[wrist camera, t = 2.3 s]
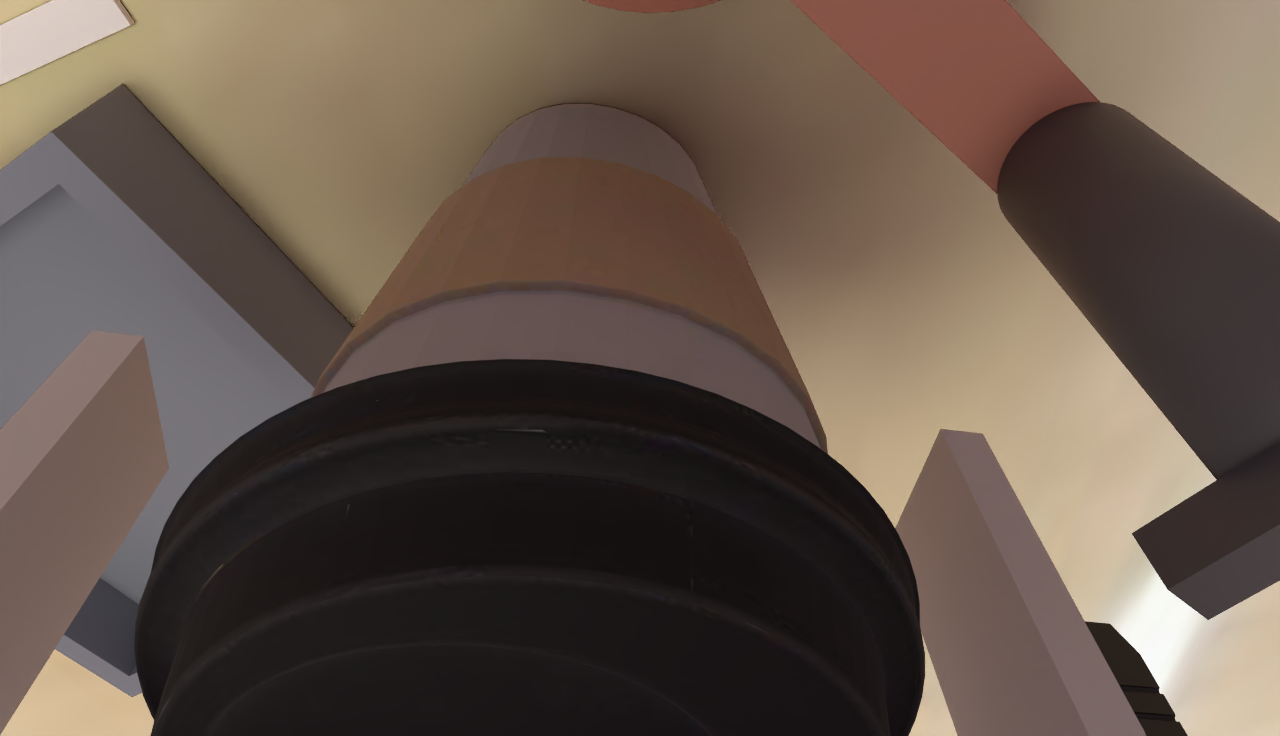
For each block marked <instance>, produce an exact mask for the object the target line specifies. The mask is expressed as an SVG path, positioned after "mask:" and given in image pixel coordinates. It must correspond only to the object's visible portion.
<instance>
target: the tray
mask: <svg viewBox="0 0 1280 736" xmlns="http://www.w3.org/2000/svg"><path fill="white" fill-rule="evenodd" d="M353 329H354V328H353V327H352V326H351V325H350V324H349V323H348V322H347V320H346V319H345V318H344V317H343V316H342V315H341V314H340V313H339V312H338V311H337V310H336V309H335V308H334V307H333V306H332V305H331V304H330V303H329V301H328V300H327V299H326V298H325V297H324V296H323V295H322V294H321V293H320V292H319V291H318V290H317V289H316V288H315V287H314V286H313V285H312V283H311V282H310V281H309V280H308V279H307V278H306V277H305V276H304V275H303V274H302V273H301V272H300V271H299V270H298V269H297V268H296V267H295V265H294V264H293V263H292V262H291V261H290V260H289V259H288V258H287V257H286V256H285V255H284V254H283V253H282V252H281V251H280V250H279V249H278V247H277V246H276V245H275V244H274V243H273V242H272V241H271V240H270V239H269V238H268V237H267V236H266V235H265V234H264V233H263V232H262V231H261V229H260V228H259V227H258V226H257V225H256V224H255V223H254V222H253V221H252V220H251V219H250V218H249V217H248V216H247V215H246V214H245V213H244V211H243V210H242V209H241V208H240V207H239V206H238V205H237V204H236V203H235V202H234V201H233V200H232V199H231V198H230V197H229V196H228V195H227V194H226V192H225V191H224V190H223V189H222V188H221V187H220V186H219V185H218V184H217V183H216V182H215V181H214V180H213V179H212V178H211V177H210V176H209V174H208V173H207V172H206V171H205V170H204V169H203V168H202V167H201V166H200V165H199V164H198V163H197V162H196V161H195V160H194V159H193V158H192V156H191V155H190V154H189V153H188V152H187V151H186V150H185V149H184V148H183V147H182V146H181V145H180V144H179V143H178V142H177V141H176V140H175V138H174V137H173V136H172V135H171V134H170V133H169V132H168V131H167V130H166V129H165V128H164V127H163V126H162V125H161V124H160V123H159V122H158V120H157V119H156V118H155V117H154V116H153V115H152V114H151V113H150V112H149V111H148V110H147V109H146V108H145V107H144V106H143V105H142V104H141V102H140V101H139V100H138V99H137V98H136V97H135V96H134V95H133V94H132V93H131V92H130V91H129V90H128V89H127V88H126V87H125V86H124V85H123V84H122V85H120V86H119V87H117V88H116V89H114V90H113V91H111V92H110V93H108V94H107V95H105V96H104V97H102V98H101V99H99V100H98V101H96V102H95V103H93V104H92V105H90V106H89V107H87V108H86V109H84V110H83V111H81V112H80V113H78V114H77V115H75V116H74V117H72V118H71V119H69V120H68V121H66V122H65V123H63V124H62V125H60V126H59V127H57V128H56V129H54V130H53V131H51V132H50V133H49V134H47V135H46V136H45V137H43V138H42V139H41V140H39V141H38V142H37V143H35V144H34V145H33V146H31V147H30V148H29V149H28V150H26V151H25V152H24V153H22V154H21V155H20V156H18V157H17V158H16V159H14V160H13V161H12V162H10V163H9V164H8V165H6V166H5V167H4V168H2V169H1V170H0V429H1V428H2V427H3V426H4V425H5V424H6V423H7V422H8V421H9V420H10V419H11V417H12V416H13V415H14V414H15V413H16V412H17V411H18V410H19V409H20V408H21V407H22V406H23V405H24V403H25V402H26V401H27V400H28V399H29V398H30V397H31V396H32V395H33V394H34V393H35V392H36V390H37V389H38V388H39V387H40V386H41V385H42V384H43V383H44V382H45V381H46V380H47V379H48V377H49V376H50V375H51V374H52V373H53V372H54V371H55V370H56V369H57V368H58V367H59V366H60V364H61V363H62V362H63V361H64V360H65V359H66V358H67V357H68V356H69V355H70V354H71V353H72V351H73V350H74V349H75V348H76V347H77V346H78V345H79V344H80V343H81V342H82V341H83V340H84V338H85V337H86V336H87V335H88V334H89V333H90V332H91V331H92V330H94V331H102V332H111V333H120V334H128V335H137V336H144V340H145V346H146V351H147V356H148V361H149V366H150V371H151V376H152V382H153V387H154V392H155V397H156V402H157V407H158V412H159V418H160V423H161V428H162V433H163V438H164V443H165V448H166V453H167V459H168V464H169V469H168V471H167V473H166V474H165V476H164V477H163V479H162V480H161V482H160V484H159V485H158V487H157V488H156V490H155V491H154V493H153V495H152V496H151V498H150V499H149V501H148V502H147V504H146V506H145V507H144V509H143V510H142V512H141V513H140V515H139V517H138V518H137V520H136V521H135V523H134V525H133V526H132V528H131V529H130V531H129V532H128V534H127V536H126V537H125V539H124V540H123V542H122V543H121V545H120V547H119V548H118V550H117V551H116V553H115V554H114V556H113V558H112V559H111V561H110V562H109V564H108V566H107V567H106V569H105V570H104V572H103V573H102V575H101V577H100V578H99V580H98V581H97V583H96V584H95V586H94V588H93V589H92V591H91V592H90V594H89V595H88V597H87V599H86V600H85V602H84V603H83V605H82V607H81V608H80V610H79V611H78V613H77V614H76V616H75V618H74V619H73V621H72V622H71V624H70V625H69V627H68V629H67V630H66V632H65V633H64V635H63V636H62V638H61V640H60V641H59V643H58V644H57V646H56V648H55V649H56V650H57V651H59V652H61V653H62V654H64V655H65V656H67V657H69V658H70V659H72V660H73V661H75V662H77V663H78V664H80V665H81V666H83V667H85V668H86V669H88V670H89V671H91V672H93V673H94V674H96V675H97V676H99V677H101V678H102V679H104V680H105V681H107V682H109V683H110V684H112V685H113V686H115V687H117V688H118V689H120V690H121V691H123V692H125V693H126V694H128V695H129V696H131V697H134V696H136V695H138V694H140V693H142V689H141V686H140V682H139V678H138V675H137V667H136V659H135V650H134V642H135V623H136V618H137V613H138V608H139V603H140V600H141V598H142V595H143V592H144V589H145V587H146V584H147V581H148V579H149V576H150V574H151V569H152V564H153V559H154V555H155V550H156V546H157V544H158V541H159V538H160V536H161V533H162V530H163V527H164V525H165V523H166V521H167V519H168V517H169V516H170V514H171V512H172V510H173V508H174V507H175V505H176V503H177V501H178V500H179V499H180V497H181V496H182V495H183V493H184V492H185V490H186V489H187V488H188V486H189V485H190V484H191V482H192V481H193V480H194V478H195V477H196V476H197V475H198V474H199V473H200V472H201V471H202V470H203V469H204V468H205V467H206V466H207V465H208V464H209V463H210V462H211V461H212V460H213V459H214V458H215V457H216V456H217V455H219V454H220V453H221V452H222V451H223V450H225V449H226V448H227V447H228V446H229V445H231V444H232V443H233V442H234V441H236V440H237V439H238V438H239V437H241V436H242V435H244V434H245V433H247V432H248V431H250V430H251V429H253V428H255V427H256V426H258V425H259V424H261V423H262V422H264V421H265V420H267V419H269V418H270V417H272V416H274V415H276V414H278V413H280V412H282V411H284V410H286V409H288V408H290V407H292V406H294V405H296V404H298V403H300V402H302V401H304V400H307V399H309V398H311V396H312V394H313V391H314V389H315V387H316V385H317V382H318V380H319V378H320V376H321V375H322V373H323V372H324V370H325V369H326V367H327V366H328V365H329V363H330V362H331V360H332V359H333V357H334V356H335V355H336V353H337V352H338V350H339V349H340V347H341V346H342V344H343V343H344V342H345V340H346V339H347V337H348V336H349V334H350V333H351V332H352V330H353Z"/></svg>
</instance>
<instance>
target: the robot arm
mask: <svg viewBox="0 0 1280 736" xmlns="http://www.w3.org/2000/svg"><path fill="white" fill-rule="evenodd" d="M168 469H169V464H168V459H167V453H166V448H165V443H164V438H163V433H162V428H161V423H160V418H159V412H158V407H157V402H156V397H155V392H154V387H153V382H152V376H151V371H150V366H149V361H148V356H147V351H146V346H145V340H144V336H137V335H128V334H120V333H111V332H102V331H94V330H92V331H91V332H90V333H89V334H88V335H87V336H86V337H85V338H84V340H83V341H82V342H81V343H80V344H79V345H78V346H77V347H76V348H75V349H74V350H73V351H72V353H71V354H70V355H69V356H68V357H67V358H66V359H65V360H64V361H63V362H62V363H61V364H60V366H59V367H58V368H57V369H56V370H55V371H54V372H53V373H52V374H51V375H50V376H49V377H48V379H47V380H46V381H45V382H44V383H43V384H42V385H41V386H40V387H39V388H38V389H37V390H36V392H35V393H34V394H33V395H32V396H31V397H30V398H29V399H28V400H27V401H26V402H25V403H24V405H23V406H22V407H21V408H20V409H19V410H18V411H17V412H16V413H15V414H14V415H13V416H12V417H11V419H10V420H9V421H8V422H7V423H6V424H5V425H4V426H3V427H2V428H1V429H0V734H1V733H2V731H3V730H4V728H5V726H6V725H7V723H8V722H9V720H10V718H11V717H12V715H13V714H14V712H15V711H16V709H17V707H18V706H19V704H20V703H21V701H22V700H23V698H24V696H25V695H26V693H27V692H28V690H29V689H30V687H31V685H32V684H33V682H34V681H35V679H36V677H37V676H38V674H39V673H40V671H41V670H42V668H43V666H44V665H45V663H46V662H47V660H48V659H49V657H50V655H51V654H52V652H53V651H54V649H55V648H56V646H57V644H58V643H59V641H60V640H61V638H62V636H63V635H64V633H65V632H66V630H67V629H68V627H69V625H70V624H71V622H72V621H73V619H74V618H75V616H76V614H77V613H78V611H79V610H80V608H81V607H82V605H83V603H84V602H85V600H86V599H87V597H88V595H89V594H90V592H91V591H92V589H93V588H94V586H95V584H96V583H97V581H98V580H99V578H100V577H101V575H102V573H103V572H104V570H105V569H106V567H107V566H108V564H109V562H110V561H111V559H112V558H113V556H114V554H115V553H116V551H117V550H118V548H119V547H120V545H121V543H122V542H123V540H124V539H125V537H126V536H127V534H128V532H129V531H130V529H131V528H132V526H133V525H134V523H135V521H136V520H137V518H138V517H139V515H140V513H141V512H142V510H143V509H144V507H145V506H146V504H147V502H148V501H149V499H150V498H151V496H152V495H153V493H154V491H155V490H156V488H157V487H158V485H159V484H160V482H161V480H162V479H163V477H164V476H165V474H166V473H167V471H168ZM895 529H896V531H897V533H898V534H899V536H900V539H901V541H902V543H903V545H904V547H905V549H906V551H907V553H908V556H909V558H910V561H911V565H912V568H913V571H914V574H915V578H916V582H917V588H918V595H919V601H920V629H921V632H922V635H923V637H924V640H925V643H926V646H927V649H928V652H929V655H930V657H931V660H932V663H933V666H934V669H935V672H936V675H937V678H938V680H939V683H940V686H941V689H942V692H943V695H944V698H945V700H946V703H947V706H948V709H949V712H950V715H951V718H952V720H953V723H954V726H955V729H956V732H957V735H958V736H1187V734H1186V732H1185V730H1184V729H1183V727H1182V725H1181V724H1180V722H1176V721H1175V713H1174V712H1173V710H1172V708H1171V707H1170V705H1169V703H1168V701H1167V700H1166V698H1165V696H1164V695H1163V694H1160V693H1159V686H1158V684H1157V683H1156V681H1155V679H1154V677H1153V676H1152V674H1151V672H1150V671H1149V669H1148V667H1147V666H1146V664H1145V662H1144V660H1143V659H1142V657H1141V655H1140V654H1139V653H1138V652H1137V651H1136V650H1135V649H1134V648H1133V647H1132V646H1131V645H1130V644H1129V643H1128V642H1127V641H1126V640H1125V639H1124V638H1123V637H1122V636H1121V635H1120V634H1119V633H1118V632H1117V631H1116V630H1115V629H1114V628H1113V627H1112V625H1111V624H1106V623H1095V622H1085V621H1084V620H1083V618H1082V616H1081V614H1080V612H1079V610H1078V608H1077V607H1076V605H1075V603H1074V601H1073V599H1072V597H1071V596H1070V594H1069V592H1068V590H1067V588H1066V586H1065V585H1064V583H1063V581H1062V579H1061V577H1060V575H1059V573H1058V572H1057V570H1056V568H1055V566H1054V564H1053V562H1052V561H1051V559H1050V557H1049V555H1048V553H1047V551H1046V550H1045V548H1044V546H1043V544H1042V542H1041V540H1040V538H1039V537H1038V535H1037V533H1036V531H1035V529H1034V527H1033V526H1032V524H1031V522H1030V520H1029V518H1028V516H1027V515H1026V513H1025V511H1024V509H1023V507H1022V505H1021V503H1020V502H1019V500H1018V498H1017V496H1016V494H1015V492H1014V491H1013V489H1012V487H1011V485H1010V483H1009V481H1008V480H1007V478H1006V476H1005V474H1004V472H1003V470H1002V469H1001V467H1000V465H999V463H998V461H997V459H996V457H995V456H994V454H993V452H992V450H991V448H990V446H989V445H988V443H987V441H986V439H985V437H984V435H983V434H980V433H972V432H963V431H954V430H946V429H940V432H939V434H938V436H937V438H936V440H935V443H934V445H933V447H932V449H931V451H930V454H929V456H928V458H927V460H926V462H925V465H924V467H923V469H922V471H921V473H920V475H919V478H918V480H917V482H916V484H915V486H914V489H913V491H912V493H911V495H910V497H909V500H908V502H907V504H906V506H905V508H904V511H903V513H902V515H901V517H900V519H899V522H898V524H897V526H896V528H895Z"/></svg>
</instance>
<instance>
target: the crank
mask: <svg viewBox="0 0 1280 736" xmlns="http://www.w3.org/2000/svg"><path fill="white" fill-rule="evenodd" d="M583 1H586V2H589V3H591V4H595V5H599V6H604V7H608V8H612V9H616V10H623V11H633V12H644V13H652V12H674V11H680V10H685V9H691V8H696V7H702V6H705V5H708V4H711V3H714V2H717V1H720V0H583ZM791 1H792V2H793V3H794V4H795V5H796V6H797V7H798V8H799V9H800V10H801V11H802V12H803V13H804V14H806V15H807V16H808V17H809V18H810V19H811V20H812V21H813V22H814V23H815V24H816V25H817V26H818V27H819V28H820V29H822V30H823V31H824V32H825V33H826V34H827V35H828V36H829V37H830V38H831V39H832V40H833V41H834V42H835V43H836V44H838V45H839V46H840V47H841V48H842V49H843V50H844V51H845V52H846V53H847V54H848V55H849V56H850V57H851V58H852V59H854V60H855V61H856V62H857V63H858V64H859V65H860V66H861V67H862V68H863V69H864V70H865V71H866V72H867V73H868V74H870V75H871V76H872V77H873V78H874V79H875V80H876V81H877V82H878V83H879V84H880V85H881V86H882V87H883V88H884V89H886V90H887V91H888V92H889V93H890V94H891V95H892V96H893V97H894V98H895V99H896V100H897V101H898V102H899V103H901V104H902V105H903V106H904V107H905V108H906V109H907V110H908V111H909V112H910V113H911V114H912V115H913V116H914V117H915V118H917V119H918V120H919V121H920V122H921V123H922V124H923V125H924V126H925V127H926V128H927V129H928V130H929V131H930V132H931V133H933V134H934V135H935V136H936V137H937V138H938V139H939V140H940V141H941V142H942V143H943V144H944V145H945V146H946V147H947V148H949V149H950V150H951V151H952V152H953V153H954V154H955V155H956V156H957V157H958V158H959V159H960V160H961V161H962V162H963V163H965V164H966V165H967V166H968V167H969V168H970V169H971V170H972V171H973V172H974V173H975V174H976V175H977V176H978V177H980V178H981V179H982V180H983V181H984V182H985V183H986V184H987V185H988V186H989V187H990V188H991V189H992V190H993V191H994V192H996V193H997V194H998V201H999V205H1000V208H1001V210H1002V213H1003V214H1004V216H1005V218H1006V219H1007V220H1008V222H1009V223H1010V224H1011V225H1012V227H1013V228H1014V229H1015V230H1016V232H1017V233H1018V234H1019V235H1020V237H1021V238H1022V239H1023V240H1024V241H1025V243H1026V244H1027V245H1028V246H1029V248H1030V249H1031V250H1032V251H1033V253H1034V254H1035V255H1036V256H1037V258H1038V259H1039V260H1040V261H1041V263H1042V264H1043V265H1044V266H1045V268H1046V269H1047V270H1048V271H1049V272H1050V274H1051V275H1052V276H1053V277H1054V279H1055V280H1056V281H1057V282H1058V284H1059V285H1060V286H1061V287H1062V289H1063V290H1064V291H1065V292H1066V294H1067V295H1068V296H1069V297H1070V299H1071V300H1072V301H1073V302H1074V303H1075V305H1076V306H1077V307H1078V308H1079V310H1080V311H1081V312H1082V313H1083V315H1084V316H1085V317H1086V318H1087V320H1088V321H1089V322H1090V323H1091V325H1092V326H1093V327H1094V328H1095V330H1096V331H1097V332H1098V333H1099V334H1100V336H1101V337H1102V338H1103V339H1104V341H1105V342H1106V343H1107V344H1108V346H1109V347H1110V348H1111V349H1112V351H1113V352H1114V353H1115V354H1116V356H1117V357H1118V358H1119V359H1120V360H1121V362H1122V363H1123V364H1124V365H1125V367H1126V368H1127V369H1128V370H1129V372H1130V373H1131V374H1132V375H1133V377H1134V378H1135V379H1136V380H1137V382H1138V383H1139V384H1140V385H1141V387H1142V388H1143V389H1144V390H1145V391H1146V393H1147V394H1148V395H1149V396H1150V398H1151V399H1152V400H1153V401H1154V403H1155V404H1156V405H1157V406H1158V408H1159V409H1160V410H1161V411H1162V413H1163V414H1164V415H1165V416H1166V418H1167V419H1168V420H1169V421H1170V422H1171V424H1172V425H1173V426H1174V427H1175V429H1176V430H1177V431H1178V432H1179V434H1180V435H1181V436H1182V437H1183V439H1184V440H1185V441H1186V442H1187V444H1188V445H1189V446H1190V447H1191V449H1192V450H1193V451H1194V452H1195V453H1196V455H1197V456H1198V457H1199V458H1200V460H1201V461H1202V462H1203V463H1204V465H1205V466H1206V467H1207V468H1208V470H1209V471H1210V472H1211V473H1212V475H1213V476H1214V477H1215V478H1216V479H1217V480H1216V481H1215V482H1213V483H1212V484H1210V485H1209V486H1207V487H1205V488H1204V489H1202V490H1201V491H1199V492H1197V493H1196V494H1194V495H1193V496H1191V497H1189V498H1188V499H1186V500H1185V501H1183V502H1181V503H1180V504H1178V505H1177V506H1175V507H1173V508H1172V509H1170V510H1169V511H1167V512H1165V513H1164V514H1162V515H1161V516H1159V517H1157V518H1156V519H1154V520H1153V521H1151V522H1149V523H1148V524H1146V525H1145V526H1143V527H1141V528H1140V529H1138V530H1137V531H1135V532H1133V533H1132V535H1133V536H1134V538H1135V539H1136V541H1137V542H1138V544H1139V545H1140V547H1141V549H1142V550H1143V552H1144V553H1145V555H1146V556H1147V558H1148V559H1149V561H1150V563H1151V564H1152V566H1153V567H1154V569H1155V570H1156V572H1157V573H1158V575H1159V577H1160V578H1161V580H1162V581H1163V583H1164V584H1165V586H1166V587H1167V589H1168V590H1169V591H1170V592H1172V593H1173V594H1174V595H1176V596H1177V597H1178V598H1180V599H1181V600H1182V601H1184V602H1185V603H1186V604H1188V605H1189V606H1190V607H1192V608H1193V609H1194V610H1196V611H1197V612H1198V613H1200V614H1201V615H1202V616H1204V617H1205V618H1206V619H1208V620H1209V619H1211V618H1213V617H1214V616H1216V615H1218V614H1220V613H1222V612H1223V611H1225V610H1227V609H1229V608H1231V607H1233V606H1234V605H1236V604H1238V603H1240V602H1242V601H1243V600H1245V599H1247V598H1249V597H1251V596H1252V595H1254V594H1256V593H1258V592H1260V591H1261V590H1263V589H1265V588H1267V587H1269V586H1271V585H1272V584H1274V583H1276V582H1278V581H1280V222H1279V221H1277V220H1276V219H1274V218H1273V217H1272V216H1270V215H1269V214H1268V213H1266V212H1265V211H1263V210H1262V209H1261V208H1259V207H1258V206H1257V205H1255V204H1254V203H1252V202H1251V201H1250V200H1248V199H1247V198H1246V197H1244V196H1243V195H1241V194H1240V193H1239V192H1237V191H1236V190H1234V189H1233V188H1232V187H1230V186H1229V185H1228V184H1226V183H1225V182H1223V181H1222V180H1221V179H1219V178H1218V177H1217V176H1215V175H1214V174H1212V173H1211V172H1210V171H1208V170H1207V169H1206V168H1204V167H1203V166H1201V165H1200V164H1199V163H1197V162H1196V161H1195V160H1193V159H1192V158H1190V157H1189V156H1188V155H1186V154H1185V153H1184V152H1182V151H1181V150H1179V149H1178V148H1177V147H1175V146H1174V145H1173V144H1171V143H1170V142H1168V141H1167V140H1166V139H1164V138H1163V137H1161V136H1160V135H1159V134H1157V133H1156V132H1155V131H1153V130H1152V129H1150V128H1149V127H1148V126H1146V125H1145V124H1144V123H1142V122H1141V121H1139V120H1138V119H1137V118H1135V117H1134V116H1133V115H1131V114H1130V113H1128V112H1127V111H1125V110H1124V109H1122V108H1120V107H1117V106H1115V105H1111V104H1107V103H1100V101H1099V100H1098V99H1097V98H1096V97H1095V96H1094V95H1093V94H1092V93H1091V92H1090V91H1089V90H1088V89H1087V87H1086V86H1085V85H1084V84H1083V83H1082V82H1081V81H1080V80H1079V79H1078V78H1077V77H1076V76H1075V75H1074V73H1073V72H1072V71H1071V70H1070V69H1069V68H1068V67H1067V66H1066V65H1065V64H1064V63H1063V62H1062V61H1061V59H1060V58H1059V57H1058V56H1057V55H1056V54H1055V53H1054V52H1053V51H1052V50H1051V49H1050V48H1049V47H1048V45H1047V44H1046V43H1045V42H1044V41H1043V40H1042V39H1041V38H1040V37H1039V36H1038V35H1037V34H1036V33H1035V31H1034V30H1033V29H1032V28H1031V27H1030V26H1029V25H1028V24H1027V23H1026V22H1025V21H1024V20H1023V19H1022V17H1021V16H1020V15H1019V14H1018V13H1017V12H1016V11H1015V10H1014V9H1013V8H1012V7H1011V6H1010V5H1009V3H1008V2H1007V1H1006V0H791Z"/></svg>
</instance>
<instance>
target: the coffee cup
mask: <svg viewBox="0 0 1280 736" xmlns="http://www.w3.org/2000/svg"><path fill="white" fill-rule="evenodd" d="M134 650H135V659H136V667H137V675H138V678H139V682H140V686H141V689H142V693H143V696H144V699H145V701H146V703H147V706H148V708H149V710H150V713H151V715H152V717H153V719H154V725H153V729H152V733H151V736H908V735H909V733H910V731H911V729H912V726H913V724H914V722H915V719H916V716H917V712H918V709H919V705H920V702H921V698H922V693H923V686H924V679H925V652H924V646H923V640H922V634H921V629H920V601H919V595H918V588H917V582H916V578H915V574H914V571H913V568H912V565H911V561H910V558H909V556H908V553H907V551H906V549H905V547H904V545H903V543H902V541H901V539H900V536H899V534H898V533H897V531H896V529H895V528H894V526H893V525H892V523H891V521H890V520H889V518H888V517H887V515H886V513H885V512H884V510H883V509H882V508H881V507H880V505H879V504H878V503H877V502H876V501H875V499H874V498H873V497H872V496H871V494H870V493H869V492H868V491H867V490H866V488H865V487H864V486H863V485H862V484H861V483H860V482H859V481H858V480H857V479H855V478H854V477H853V476H852V475H851V474H850V473H849V472H848V471H847V470H846V469H845V468H844V467H843V466H842V465H841V464H839V463H838V462H837V461H836V460H834V459H833V458H832V457H830V456H829V455H828V451H827V440H826V435H825V433H824V430H823V428H822V425H821V423H820V420H819V418H818V415H817V413H816V410H815V408H814V406H813V403H812V401H811V398H810V396H809V393H808V391H807V389H806V387H805V385H804V383H803V381H802V378H801V376H800V374H799V372H798V370H797V368H796V365H795V363H794V361H793V359H792V357H791V355H790V353H789V350H788V348H787V346H786V344H785V342H784V340H783V337H782V335H781V333H780V331H779V329H778V327H777V325H776V322H775V320H774V318H773V316H772V314H771V312H770V309H769V307H768V305H767V303H766V301H765V299H764V297H763V294H762V292H761V290H760V288H759V286H758V284H757V281H756V279H755V277H754V275H753V273H752V271H751V269H750V266H749V264H748V262H747V260H746V258H745V256H744V253H743V251H742V249H741V247H740V245H739V243H738V241H737V240H736V238H735V237H734V236H733V235H732V233H731V232H730V231H729V229H728V228H727V227H726V226H725V224H724V223H723V222H722V220H721V219H720V218H719V217H718V215H717V213H716V211H715V209H714V206H713V204H712V202H711V200H710V198H709V195H708V193H707V191H706V189H705V187H704V185H703V182H702V180H701V178H700V176H699V174H698V171H697V169H696V167H695V165H694V163H693V161H692V160H691V159H690V157H689V156H688V155H687V153H686V152H685V151H684V149H683V148H682V147H681V146H680V144H679V143H678V142H677V141H675V140H674V139H673V138H672V137H671V136H669V135H668V134H667V133H666V132H665V131H663V130H662V129H661V128H659V127H657V126H656V125H654V124H652V123H650V122H648V121H647V120H645V119H643V118H641V117H639V116H636V115H634V114H631V113H628V112H625V111H622V110H619V109H616V108H611V107H605V106H599V105H593V104H562V105H557V106H552V107H547V108H542V109H539V110H536V111H534V112H532V113H530V114H527V115H525V116H523V117H521V118H518V119H517V120H516V121H515V122H513V123H512V124H511V125H510V126H508V127H507V128H506V129H505V130H503V131H502V132H501V133H500V134H499V135H498V136H497V138H496V139H495V140H494V142H493V143H492V144H491V145H490V147H489V148H488V149H487V151H486V152H485V153H484V155H483V156H482V158H481V159H480V161H479V162H478V163H477V165H476V166H475V168H474V169H473V171H472V172H471V174H470V175H469V177H468V178H467V180H466V181H465V182H464V184H463V185H462V187H461V188H460V189H459V190H457V191H456V192H455V193H454V194H452V195H451V196H450V197H449V198H447V199H446V200H445V201H444V202H443V203H442V205H441V206H440V207H439V209H438V210H437V211H436V212H435V214H434V215H433V216H432V218H431V219H430V220H429V222H428V223H427V224H426V225H425V227H424V228H423V230H422V231H421V232H420V234H419V235H418V237H417V238H416V240H415V241H414V242H413V244H412V245H411V247H410V248H409V250H408V251H407V253H406V254H405V255H404V257H403V258H402V260H401V261H400V263H399V264H398V265H397V267H396V268H395V270H394V271H393V273H392V274H391V276H390V277H389V278H388V280H387V281H386V283H385V284H384V286H383V287H382V288H381V290H380V291H379V293H378V294H377V296H376V297H375V298H374V300H373V301H372V303H371V304H370V306H369V307H368V309H367V310H366V311H365V313H364V314H363V316H362V317H361V319H360V320H359V321H358V323H357V324H356V326H355V327H354V329H353V330H352V332H351V333H350V334H349V336H348V337H347V339H346V340H345V342H344V343H343V344H342V346H341V347H340V349H339V350H338V352H337V353H336V355H335V356H334V357H333V359H332V360H331V362H330V363H329V365H328V366H327V367H326V369H325V370H324V372H323V373H322V375H321V376H320V378H319V380H318V382H317V385H316V387H315V389H314V391H313V394H312V396H311V398H309V399H307V400H304V401H302V402H300V403H298V404H296V405H294V406H292V407H290V408H288V409H286V410H284V411H282V412H280V413H278V414H276V415H274V416H272V417H270V418H269V419H267V420H265V421H264V422H262V423H261V424H259V425H258V426H256V427H255V428H253V429H251V430H250V431H248V432H247V433H245V434H244V435H242V436H241V437H239V438H238V439H237V440H236V441H234V442H233V443H232V444H231V445H229V446H228V447H227V448H226V449H225V450H223V451H222V452H221V453H220V454H219V455H217V456H216V457H215V458H214V459H213V460H212V461H211V462H210V463H209V464H208V465H207V466H206V467H205V468H204V469H203V470H202V471H201V472H200V473H199V474H198V475H197V476H196V477H195V478H194V480H193V481H192V482H191V484H190V485H189V486H188V488H187V489H186V490H185V492H184V493H183V495H182V496H181V497H180V499H179V500H178V501H177V503H176V505H175V507H174V508H173V510H172V512H171V514H170V516H169V517H168V519H167V521H166V523H165V525H164V527H163V530H162V533H161V536H160V538H159V541H158V544H157V546H156V550H155V555H154V559H153V564H152V569H151V574H150V576H149V579H148V581H147V584H146V587H145V589H144V592H143V595H142V598H141V600H140V603H139V608H138V613H137V618H136V623H135V642H134Z"/></svg>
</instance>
